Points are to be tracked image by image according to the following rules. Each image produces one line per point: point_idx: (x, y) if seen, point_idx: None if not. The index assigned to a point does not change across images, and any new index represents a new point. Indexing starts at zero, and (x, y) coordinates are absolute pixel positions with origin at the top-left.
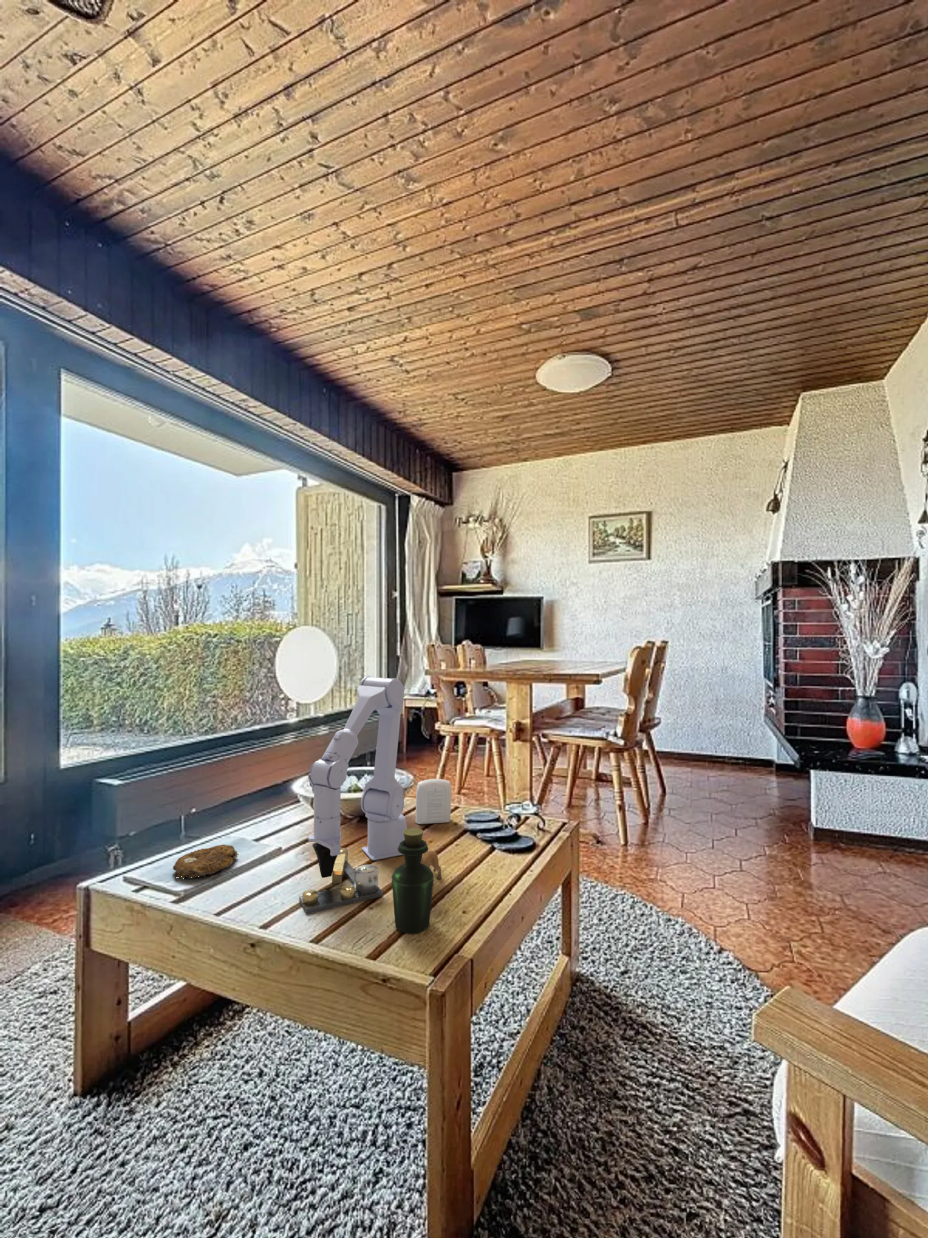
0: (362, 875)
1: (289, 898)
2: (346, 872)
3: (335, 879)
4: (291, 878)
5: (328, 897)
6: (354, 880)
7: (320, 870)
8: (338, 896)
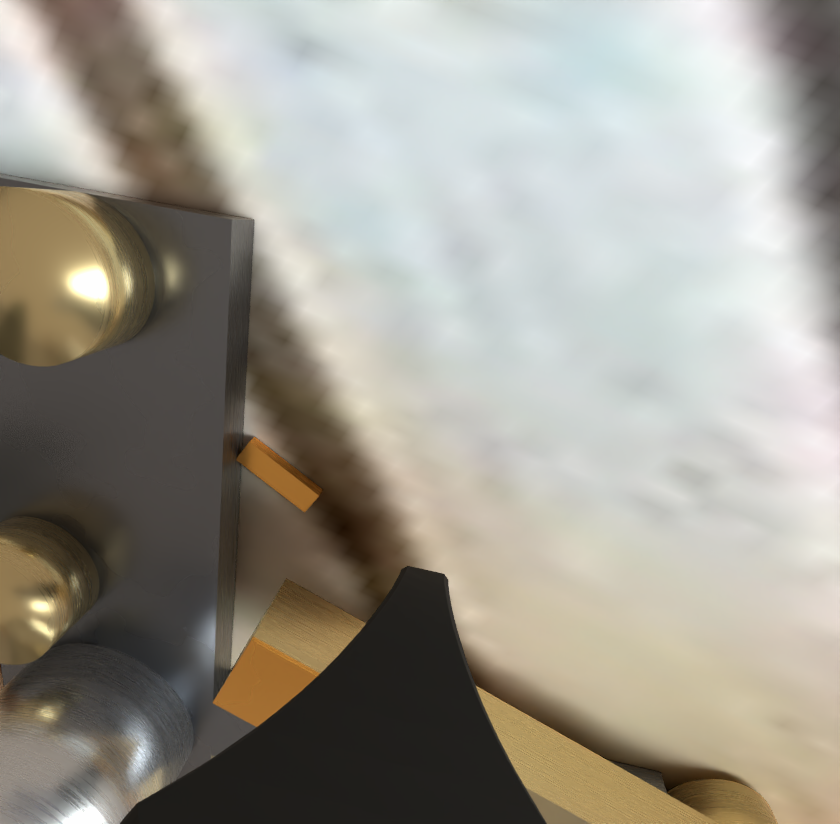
0: None
1: (372, 156)
2: None
3: (256, 629)
4: (819, 369)
5: (74, 440)
6: None
7: (412, 608)
8: (60, 512)
